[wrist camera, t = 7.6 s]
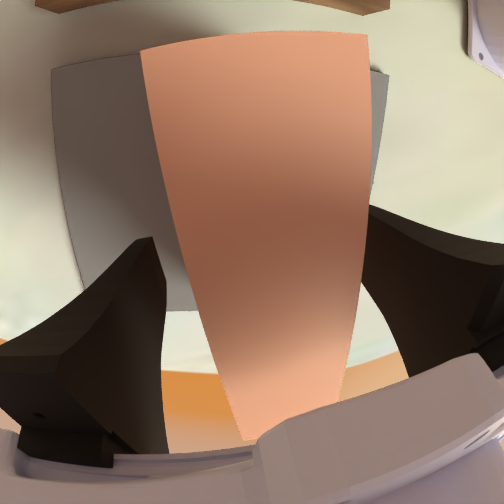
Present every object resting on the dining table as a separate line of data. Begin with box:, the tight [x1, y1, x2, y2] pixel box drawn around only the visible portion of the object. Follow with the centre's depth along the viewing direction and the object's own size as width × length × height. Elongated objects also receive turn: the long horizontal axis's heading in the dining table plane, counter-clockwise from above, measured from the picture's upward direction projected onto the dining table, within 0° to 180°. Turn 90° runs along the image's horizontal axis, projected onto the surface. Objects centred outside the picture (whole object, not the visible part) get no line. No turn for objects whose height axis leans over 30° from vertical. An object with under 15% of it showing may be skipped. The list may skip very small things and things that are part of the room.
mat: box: [51, 54, 389, 311], centre depth 15 cm, size 16×14×1 cm
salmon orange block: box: [140, 31, 372, 441], centre depth 11 cm, size 4×12×9 cm, turn 6°
